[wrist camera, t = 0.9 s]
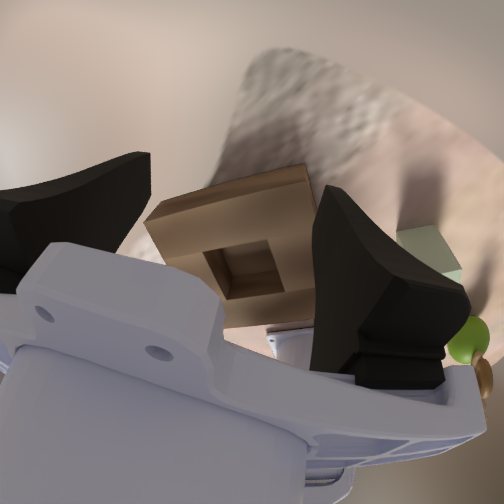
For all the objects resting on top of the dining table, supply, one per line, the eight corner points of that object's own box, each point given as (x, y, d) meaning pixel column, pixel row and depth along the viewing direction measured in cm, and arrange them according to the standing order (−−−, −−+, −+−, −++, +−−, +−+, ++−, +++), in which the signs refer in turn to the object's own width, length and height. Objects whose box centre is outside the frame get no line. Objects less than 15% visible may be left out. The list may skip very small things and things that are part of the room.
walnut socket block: (333, 287, 26) (335, 315, 24) (214, 304, 30) (206, 330, 27) (304, 163, 20) (305, 181, 17) (161, 201, 24) (143, 222, 21)
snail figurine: (441, 346, 30) (461, 430, 20) (442, 315, 27) (471, 410, 17) (477, 332, 28) (503, 413, 18) (482, 300, 25) (519, 389, 15)
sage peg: (432, 257, 23) (455, 305, 18) (397, 265, 24) (414, 314, 19) (434, 224, 21) (462, 269, 16) (396, 231, 22) (417, 279, 17)
